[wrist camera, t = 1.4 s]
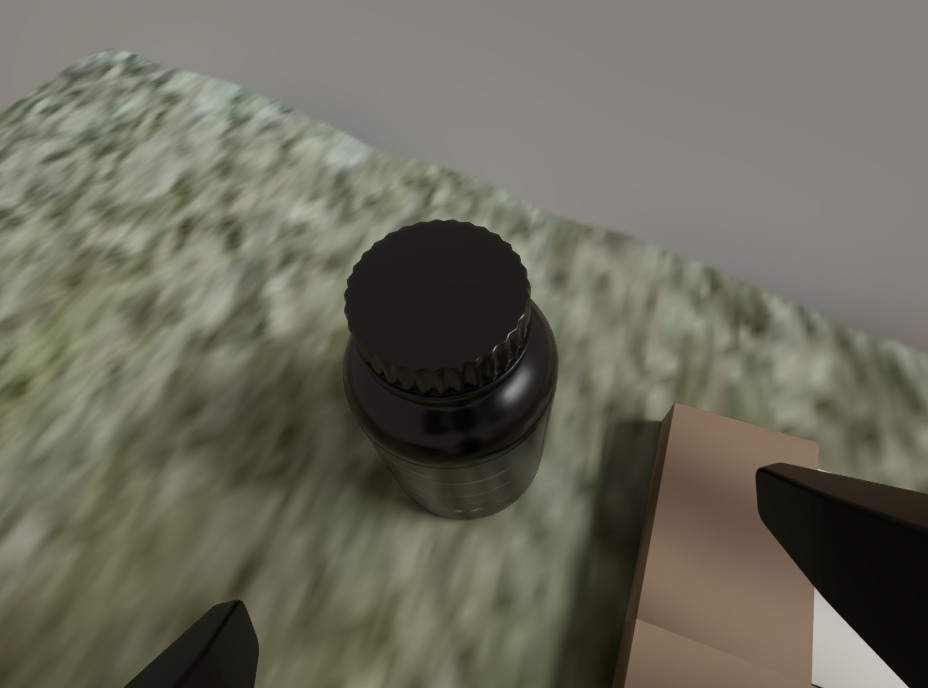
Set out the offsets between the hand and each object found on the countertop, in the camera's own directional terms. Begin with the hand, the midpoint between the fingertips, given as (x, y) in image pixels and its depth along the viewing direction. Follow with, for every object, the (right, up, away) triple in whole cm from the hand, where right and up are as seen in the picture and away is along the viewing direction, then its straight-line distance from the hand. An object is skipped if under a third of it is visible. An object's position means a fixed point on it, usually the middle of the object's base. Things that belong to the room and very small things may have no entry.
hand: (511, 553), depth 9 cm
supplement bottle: (-1, -1, +15) cm, 15 cm away
